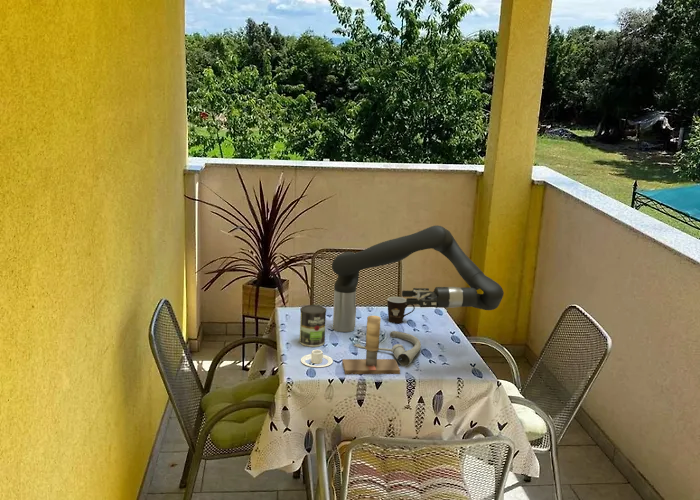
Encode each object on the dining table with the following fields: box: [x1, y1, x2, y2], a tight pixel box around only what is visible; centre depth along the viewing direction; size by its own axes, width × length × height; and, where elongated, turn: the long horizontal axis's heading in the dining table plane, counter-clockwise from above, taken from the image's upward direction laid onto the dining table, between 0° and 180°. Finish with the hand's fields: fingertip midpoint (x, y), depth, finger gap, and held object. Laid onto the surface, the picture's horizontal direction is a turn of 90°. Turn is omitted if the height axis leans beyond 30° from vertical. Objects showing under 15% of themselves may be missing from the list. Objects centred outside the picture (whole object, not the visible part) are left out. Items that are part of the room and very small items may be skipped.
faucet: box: [353, 330, 422, 367], centre depth 266 cm, size 5×28×28 cm
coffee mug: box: [386, 296, 416, 325], centre depth 296 cm, size 12×9×10 cm
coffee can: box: [299, 304, 327, 348], centre depth 267 cm, size 10×10×14 cm
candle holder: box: [300, 349, 334, 368], centre depth 250 cm, size 12×12×4 cm
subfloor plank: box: [342, 358, 401, 375], centre depth 246 cm, size 20×10×2 cm, turn 97°
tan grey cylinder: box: [365, 315, 382, 366], centre depth 244 cm, size 5×5×18 cm
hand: (404, 297), depth 241 cm, fingers open, 8 cm apart
